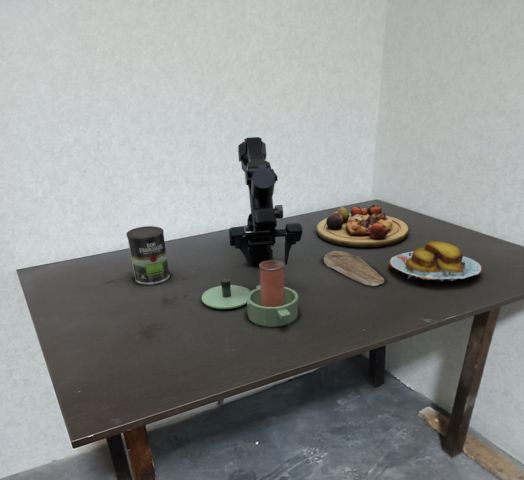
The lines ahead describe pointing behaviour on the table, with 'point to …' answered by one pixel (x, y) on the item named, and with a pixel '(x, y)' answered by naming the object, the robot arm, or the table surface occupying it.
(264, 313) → the pot
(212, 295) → the pot lid
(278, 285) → the reddish translucent cylinder
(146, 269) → the coffee can
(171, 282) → the table surface
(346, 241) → the wooden plate
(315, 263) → the table surface
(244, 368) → the table surface
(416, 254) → the food on plate
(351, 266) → the brown flat tapered piece
